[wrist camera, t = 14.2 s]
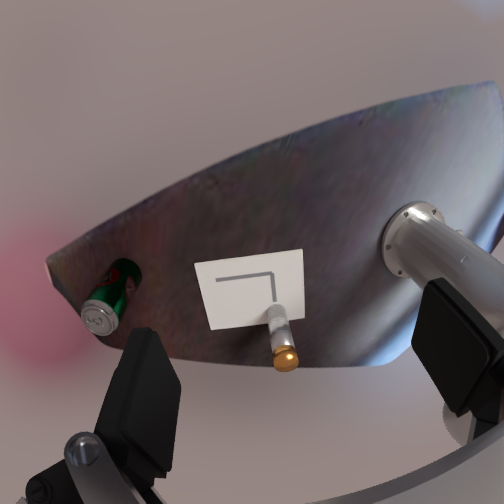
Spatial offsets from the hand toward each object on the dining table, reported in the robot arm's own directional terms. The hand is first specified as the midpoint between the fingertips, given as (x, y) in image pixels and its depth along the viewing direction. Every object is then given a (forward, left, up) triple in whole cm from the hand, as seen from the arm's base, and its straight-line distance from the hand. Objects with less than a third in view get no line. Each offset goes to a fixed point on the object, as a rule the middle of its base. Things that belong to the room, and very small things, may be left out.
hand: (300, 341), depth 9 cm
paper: (+2, +17, -28) cm, 33 cm away
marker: (-1, +20, -28) cm, 35 cm away
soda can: (+20, +11, -29) cm, 36 cm away
